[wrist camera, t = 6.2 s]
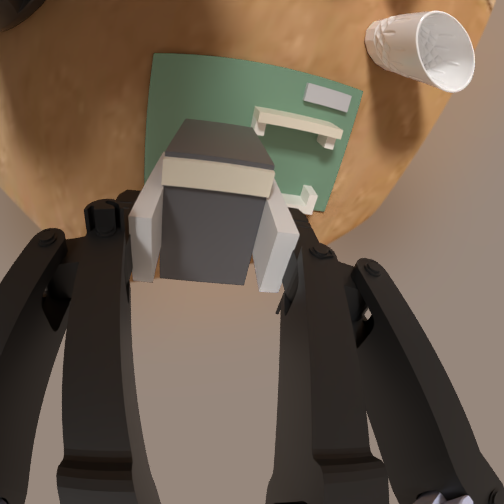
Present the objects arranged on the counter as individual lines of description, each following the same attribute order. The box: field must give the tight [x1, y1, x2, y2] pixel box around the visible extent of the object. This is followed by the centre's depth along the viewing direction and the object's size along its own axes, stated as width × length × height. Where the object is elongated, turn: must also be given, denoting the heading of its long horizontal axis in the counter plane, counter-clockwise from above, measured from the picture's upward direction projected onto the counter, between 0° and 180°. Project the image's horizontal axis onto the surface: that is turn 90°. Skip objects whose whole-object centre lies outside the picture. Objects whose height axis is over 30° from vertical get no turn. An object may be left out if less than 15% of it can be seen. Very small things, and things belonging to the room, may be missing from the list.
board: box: [144, 53, 363, 212], centre depth 26 cm, size 22×16×3 cm
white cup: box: [365, 11, 475, 93], centre depth 17 cm, size 8×8×10 cm
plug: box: [160, 119, 275, 285], centre depth 14 cm, size 4×6×7 cm, turn 168°
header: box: [251, 106, 343, 215], centre depth 28 cm, size 8×11×4 cm
